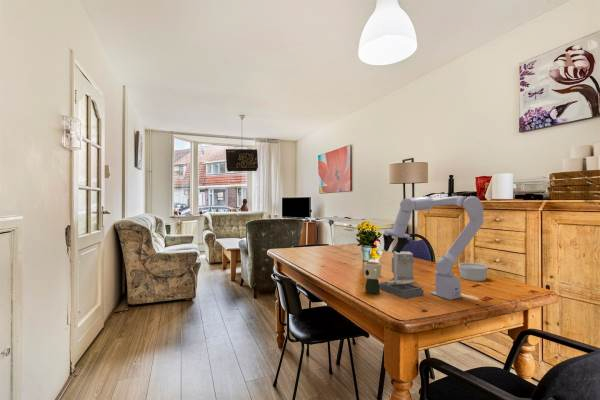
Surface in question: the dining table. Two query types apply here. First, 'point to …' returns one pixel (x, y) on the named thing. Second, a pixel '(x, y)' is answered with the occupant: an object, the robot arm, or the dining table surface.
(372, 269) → the character mug
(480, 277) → the ramekin
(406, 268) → the circuit breaker
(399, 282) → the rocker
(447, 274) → the robot arm
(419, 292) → the breaker panel
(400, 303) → the dining table surface
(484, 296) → the dining table surface
